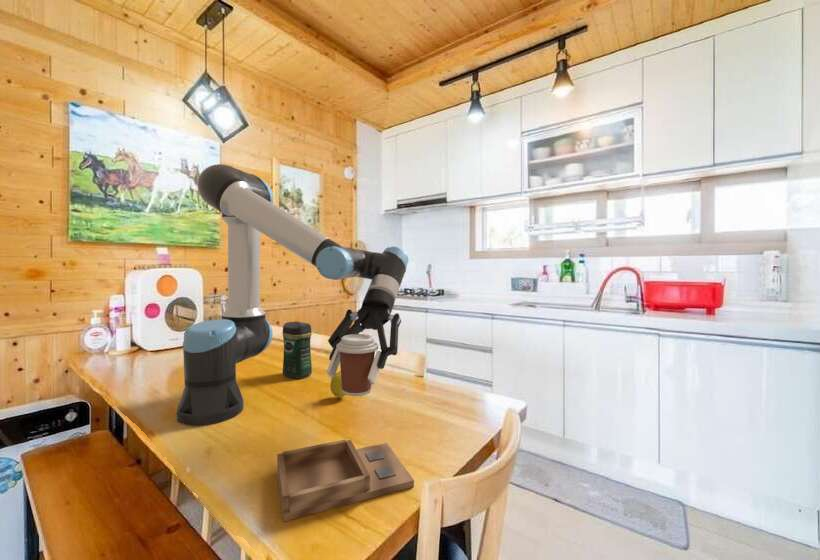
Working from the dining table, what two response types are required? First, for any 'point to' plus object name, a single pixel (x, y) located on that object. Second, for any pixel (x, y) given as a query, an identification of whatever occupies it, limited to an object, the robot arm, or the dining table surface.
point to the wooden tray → (336, 476)
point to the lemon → (337, 385)
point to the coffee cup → (356, 363)
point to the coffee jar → (297, 350)
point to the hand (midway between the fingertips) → (350, 377)
